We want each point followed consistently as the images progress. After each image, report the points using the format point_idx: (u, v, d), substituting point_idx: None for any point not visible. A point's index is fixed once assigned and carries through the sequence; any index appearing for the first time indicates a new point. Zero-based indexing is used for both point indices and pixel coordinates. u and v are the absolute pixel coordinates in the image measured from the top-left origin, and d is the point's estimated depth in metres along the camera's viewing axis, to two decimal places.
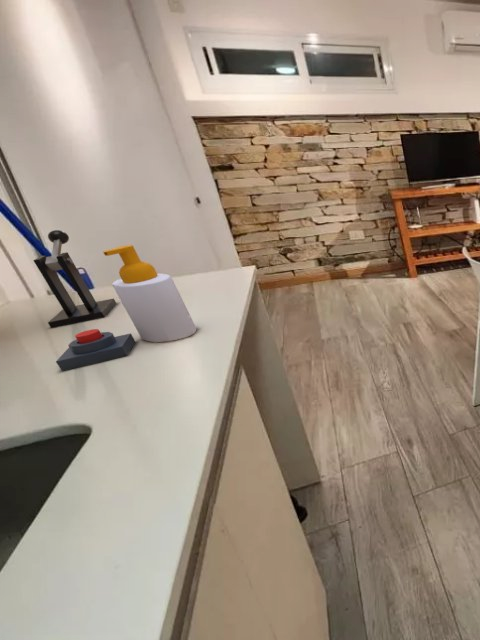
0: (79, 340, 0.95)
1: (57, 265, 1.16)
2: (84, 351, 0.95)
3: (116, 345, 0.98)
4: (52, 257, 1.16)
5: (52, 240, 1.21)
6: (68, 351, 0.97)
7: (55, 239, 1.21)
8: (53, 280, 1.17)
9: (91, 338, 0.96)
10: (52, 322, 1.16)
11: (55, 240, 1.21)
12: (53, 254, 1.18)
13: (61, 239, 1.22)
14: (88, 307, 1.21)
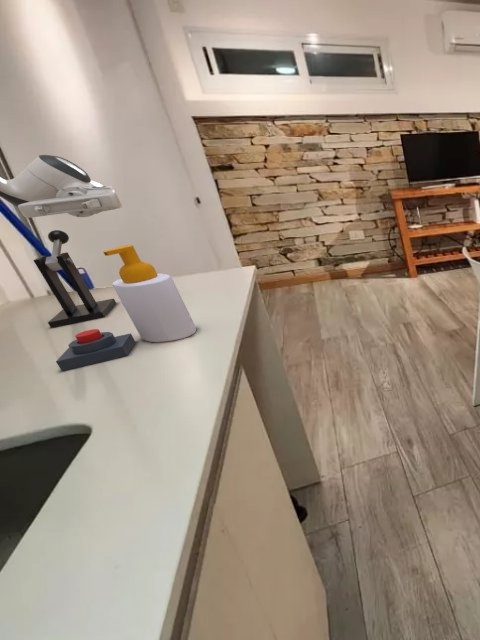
0: (79, 340, 0.95)
1: (57, 265, 1.16)
2: (84, 351, 0.95)
3: (116, 345, 0.98)
4: (52, 257, 1.16)
5: (52, 240, 1.21)
6: (68, 351, 0.97)
7: (55, 239, 1.21)
8: (53, 280, 1.17)
9: (91, 338, 0.96)
10: (52, 322, 1.16)
11: (55, 240, 1.21)
12: (53, 254, 1.18)
13: (61, 239, 1.22)
14: (88, 307, 1.21)
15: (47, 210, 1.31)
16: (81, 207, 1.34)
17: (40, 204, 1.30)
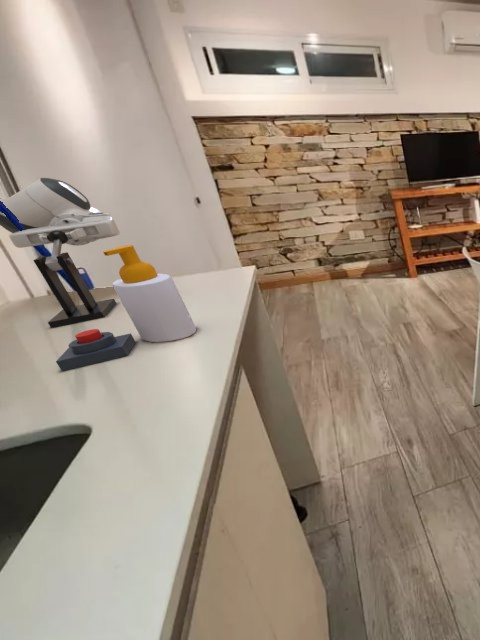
0: (79, 340, 0.95)
1: (57, 265, 1.16)
2: (84, 351, 0.95)
3: (116, 345, 0.98)
4: (52, 257, 1.16)
5: (52, 240, 1.21)
6: (68, 351, 0.97)
7: (55, 239, 1.21)
8: (53, 280, 1.17)
9: (91, 338, 0.96)
10: (52, 322, 1.16)
11: (55, 240, 1.21)
12: (53, 254, 1.18)
13: (61, 239, 1.22)
14: (88, 307, 1.21)
15: None
16: None
17: (33, 233, 1.22)
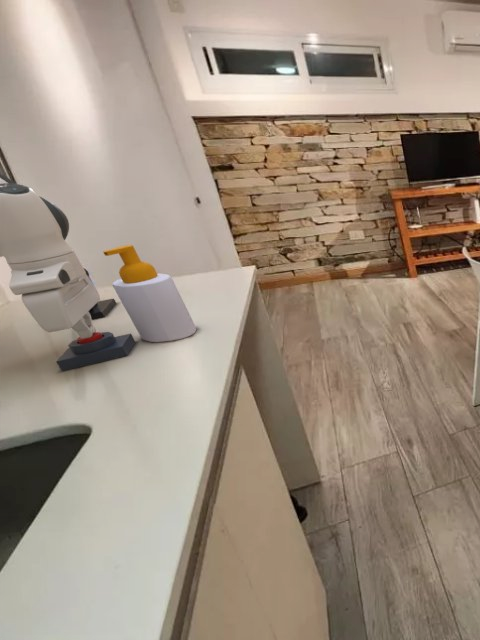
0: (81, 343, 0.96)
1: None
2: (84, 351, 0.95)
3: (116, 345, 0.98)
4: None
5: None
6: (68, 351, 0.97)
7: None
8: None
9: None
10: None
11: None
12: None
13: None
14: None
15: None
16: None
17: None
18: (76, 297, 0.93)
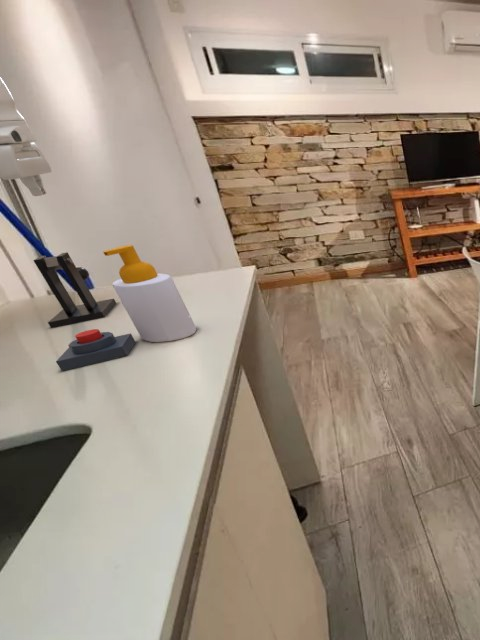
0: (79, 340, 0.95)
1: (54, 260, 1.16)
2: (84, 351, 0.95)
3: (116, 345, 0.98)
4: None
5: None
6: (68, 351, 0.97)
7: None
8: (53, 280, 1.17)
9: (91, 338, 0.96)
10: (52, 322, 1.16)
11: None
12: None
13: (79, 271, 1.25)
14: (88, 307, 1.21)
15: None
16: None
17: None
18: (28, 159, 1.14)
